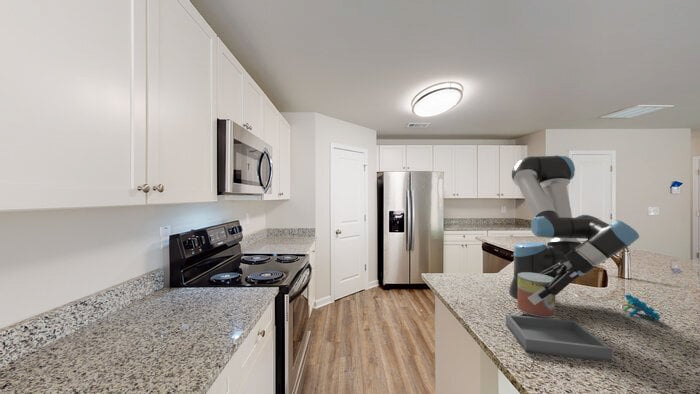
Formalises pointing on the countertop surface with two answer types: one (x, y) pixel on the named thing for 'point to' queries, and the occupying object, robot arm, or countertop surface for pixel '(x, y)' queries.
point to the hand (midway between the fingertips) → (528, 295)
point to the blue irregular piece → (639, 307)
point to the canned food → (528, 287)
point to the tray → (557, 338)
